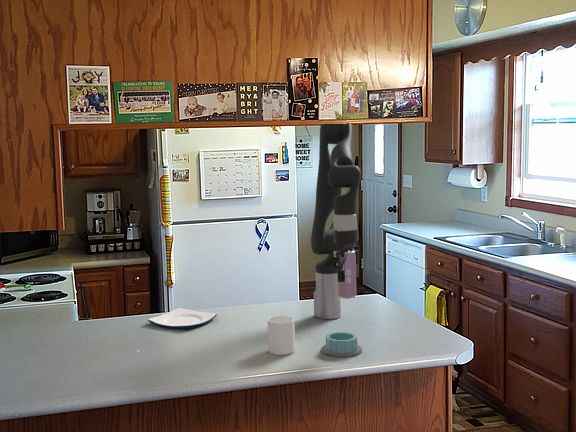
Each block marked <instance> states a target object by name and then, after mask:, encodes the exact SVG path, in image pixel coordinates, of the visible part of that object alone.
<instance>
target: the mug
mask: <svg viewBox="0 0 576 432" xmlns="http://www.w3.org/2000/svg"><path fill="white" fill-rule="evenodd" d="M266 323H267V351H268V352H269V354H271V355H274V356H287V355H288V356H289V355H292V354H293V353H294V352H295V350H296V349H295V348H296V345H295V343H296V341H295V340H296V339H295V338H296V337H295V336H296V335H295V332H296V331H295V317H293V316H288V315H276V316H271V317H268V318H267V322H266Z"/></svg>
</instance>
